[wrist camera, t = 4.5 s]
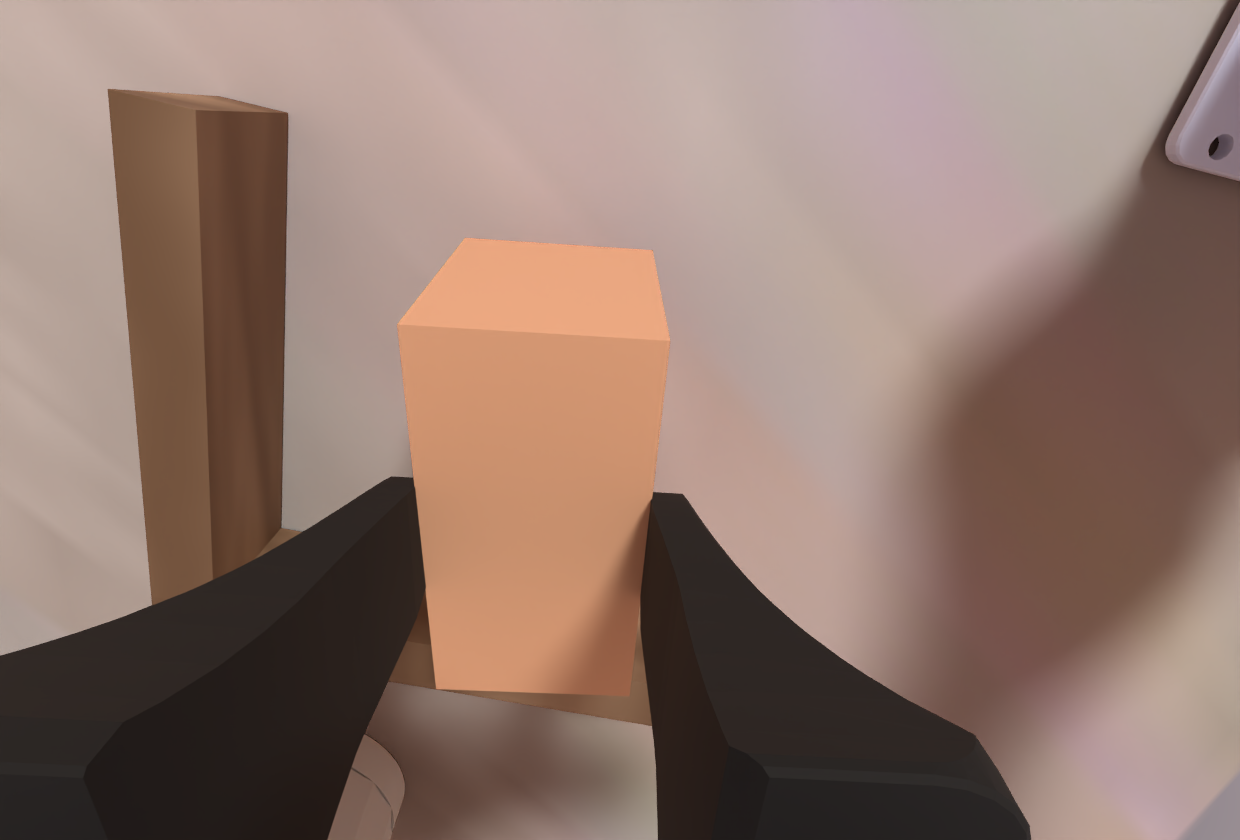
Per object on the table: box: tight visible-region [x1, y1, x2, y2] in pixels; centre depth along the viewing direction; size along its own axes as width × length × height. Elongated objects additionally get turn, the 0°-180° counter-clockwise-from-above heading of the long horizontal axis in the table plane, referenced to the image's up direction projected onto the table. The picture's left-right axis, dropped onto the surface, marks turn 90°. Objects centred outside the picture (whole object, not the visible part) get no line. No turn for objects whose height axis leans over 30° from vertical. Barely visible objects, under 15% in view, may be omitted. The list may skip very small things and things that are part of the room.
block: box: [397, 238, 670, 696], centre depth 14 cm, size 8×4×5 cm, turn 176°
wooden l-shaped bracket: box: [108, 89, 652, 726], centre depth 16 cm, size 14×13×4 cm
